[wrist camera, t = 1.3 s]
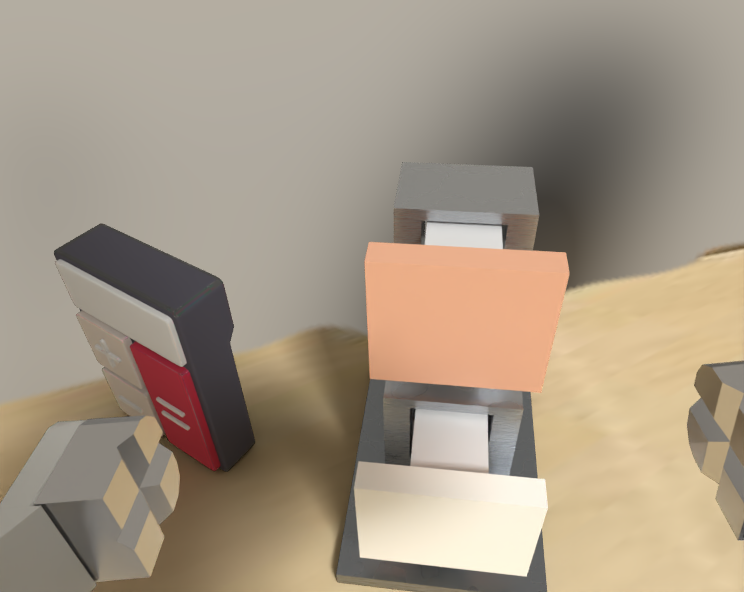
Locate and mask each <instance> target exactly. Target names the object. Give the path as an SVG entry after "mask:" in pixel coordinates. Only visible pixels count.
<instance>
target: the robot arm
mask: <svg viewBox="0 0 744 592" xmlns="http://www.w3.org/2000/svg"><path fill="white" fill-rule="evenodd" d="M694 386H695V388H696V390H697V391H698V393H699V395H700V396H701V398H700V399H699V400H698V401H697V402H696V403H695V404H694V405H693V406H692V407H691V408H690V409H689V415H688V422H687V430H688V438H689V445H690V448H691V451H692V454H693V457H694V459H695V461H696V463H697V465H698V467H699V469H700V471H701V473H703V474H704V475H706V476H707V477H709V478H710V479H712V480H713V481H715V482H717V483H718V484H719V486H718V490H717V494H716V498H715V499H716V501H717V503H718V505H719V506H720V508H721V510H722V512H723V514H724V516H725V518H726V519H727V521H728V523H729V525H730V527H731V529H732V531H733V532H734V534H735V536H736V538H737V540H744V361H734V362H724V363H714V364H704V365H702V366H701V367H700V369H699V370H698V372H697V374H696V379H695V384H694ZM162 433H163V432H162V430H161V428H160V426H159V424H158V422H157V420H156V419H155V417H151V416H147V415H144V416H129V417H114V418H98V419H88V420H80V421H62V422H57V423H55V424H54V425H52V426H51V427H49V428H48V429H47V431H46V432H45V434H44V436H43V437H42V439H41V440H40V442H39V443H38V445H37V447H36V448H35V450H34V451H33V453H32V454H31V456H30V458H29V459H28V461H27V462H26V464H25V465H24V467H23V469H22V470H21V472H20V473H19V475H18V476H17V478H16V480H15V481H14V483H13V484H12V486H11V487H10V489H9V490H8V492H7V494H6V495H5V497H4V498H3V500H2V501H1V503H0V592H91V591H92V590H93V589H94V588H95V587H96V583H95V582H103V581H113V580H124V579H135V578H146V577H151V574H152V571H153V568H154V566H155V563H156V560H157V557H158V554H159V551H160V549H161V546H162V543H163V540H164V534H163V532H162V530H161V527H160V524H161V523H162V522H163V521H164V520H165V519H166V518H167V517H168V516H169V515H170V514H171V513H172V512H173V511H174V508H175V505H176V502H177V499H178V496H179V483H180V474H179V469H178V464H177V461H176V459H175V457H174V455H173V452H172V451H170V450H169V449H167V448H166V447H164V446H162V445H161V444H159V440H160V438H161V435H162Z"/></svg>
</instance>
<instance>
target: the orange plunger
mask: <svg viewBox="0 0 744 592" xmlns="http://www.w3.org/2000/svg"><path fill="white" fill-rule="evenodd" d="M568 277H569V268H568V262H567V257H566V253H564V252H546V251H528V250H509V249H503V243H502V224H482V223H462V222H441V221H427V228H426V238H425V245H417V244H399V243H379V242H369V244H368V248H367V253H366V257H365V281H366V305H367V327H368V349H369V370H370V379H378V380H390V381H403V382H415V383H427V384H440V385H452V386H465V387H477V388H489V389H502V390H514V391H526V392H539V393H541V391H542V386H543V382H544V378H545V374H546V370H547V365H548V361H549V357H550V353H551V349H552V345H553V340H554V336H555V332H556V328H557V324H558V319H559V315H560V311H561V307H562V303H563V299H564V294H565V290H566V286H567V282H568Z"/></svg>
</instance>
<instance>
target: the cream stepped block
mask: <svg viewBox="0 0 744 592" xmlns="http://www.w3.org/2000/svg"><path fill="white" fill-rule="evenodd" d="M354 495H355V507H356V518H357V530H358V541H359V553H360V557H361V558H369V559H378V560H387V561H395V562H404V563H413V564H421V565H430V566H439V567H447V568H456V569H465V570H473V571H482V572H491V573H500V574H508V575H517V576H526V577H527V573H528V570H529V567H530V564H531V561H532V557H533V554H534V551H535V548H536V544H537V541H538V538H539V535H540V532H541V528H542V525H543V522H544V519H545V515H546V512H547V509H548V505H547V494H546V484H545V479H537V478H527V477H516V476H506V475H496V474H489V468H488V415H484V414H472V413H461V412H449V411H437V410H426V409H416V411H415V422H414V432H413V443H412V453H411V464H410V466H403V465H392V464H382V463H372V462H361V461H358V467H357V473H356V479H355V485H354Z"/></svg>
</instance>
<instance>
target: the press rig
mask: <svg viewBox="0 0 744 592" xmlns="http://www.w3.org/2000/svg"><path fill="white" fill-rule="evenodd" d="M538 219H539V211H538V204H537V196H536V190H535V181H534V174H533V168H532V167H512V166H486V165H485V166H484V165H461V164H435V163H407V162H402V167H401V172H400V177H399V183H398V189H397V193H396V199H395V204H394V243H399V244H417V245H425V238H426V236H425V221H441V222H462V223H482V224H502V243H503V249H509V250H528V251H533V246H534V241H535V235H536V230H537V224H538ZM416 409H426V410H437V411H449V412H461V413H472V414H484V415H488V468H489V474H496V475H506V476H516V477H527V478H537V466H536V454H535V442H534V430H533V418H532V406H531V394H530V392H526V391H514V390H502V389H489V388H477V387H465V386H452V385H440V384H427V383H415V382H403V381H390V380H378V379H370V383H369V389H368V394H367V400H366V406H365V412H364V417H363V423H362V429H361V435H360V440H359V446H358V452H357V458H356V464H355V469H354V475H353V481H352V487H351V492H350V498H349V504H348V510H347V515H346V521H345V527H344V533H343V538H342V544H341V550H340V556H339V561H338V567H337V573H336V577H337V582H339V583H347V584H356V585H364V586H372V587H380V588H389V589H397V590H405V591H414V592H547V585H546V573H545V561H544V549H543V538H542V528H541V532H540V535H539V538H538V541H537V544H536V548H535V551H534V554H533V557H532V561H531V564H530V567H529V570H528V573H527V577H526V576H517V575H508V574H500V573H491V572H482V571H473V570H465V569H456V568H447V567H439V566H430V565H421V564H413V563H404V562H395V561H387V560H378V559H369V558H361V557H360V553H359V541H358V530H357V518H356V507H355V495H354V485H355V479H356V473H357V467H358V461H361V462H372V463H382V464H392V465H403V466H410V464H411V453H412V443H413V432H414V422H415V411H416ZM537 479H538V478H537Z"/></svg>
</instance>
